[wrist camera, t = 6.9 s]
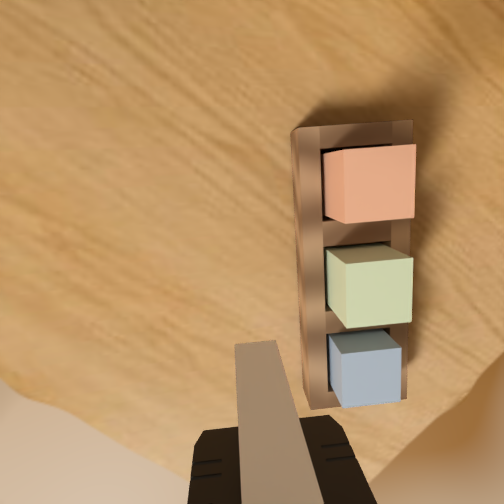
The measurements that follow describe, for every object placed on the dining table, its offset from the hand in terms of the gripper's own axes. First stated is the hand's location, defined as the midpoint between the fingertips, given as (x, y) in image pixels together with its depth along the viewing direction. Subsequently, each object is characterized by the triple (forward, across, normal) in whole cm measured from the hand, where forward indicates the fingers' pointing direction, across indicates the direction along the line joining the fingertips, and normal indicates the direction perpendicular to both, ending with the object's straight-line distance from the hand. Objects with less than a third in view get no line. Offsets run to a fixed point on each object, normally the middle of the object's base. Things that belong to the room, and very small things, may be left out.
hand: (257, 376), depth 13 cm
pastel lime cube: (+24, +12, -4) cm, 27 cm away
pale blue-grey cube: (+26, +12, -14) cm, 32 cm away
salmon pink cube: (+24, +12, +6) cm, 27 cm away
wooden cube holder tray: (+26, +12, -4) cm, 29 cm away
